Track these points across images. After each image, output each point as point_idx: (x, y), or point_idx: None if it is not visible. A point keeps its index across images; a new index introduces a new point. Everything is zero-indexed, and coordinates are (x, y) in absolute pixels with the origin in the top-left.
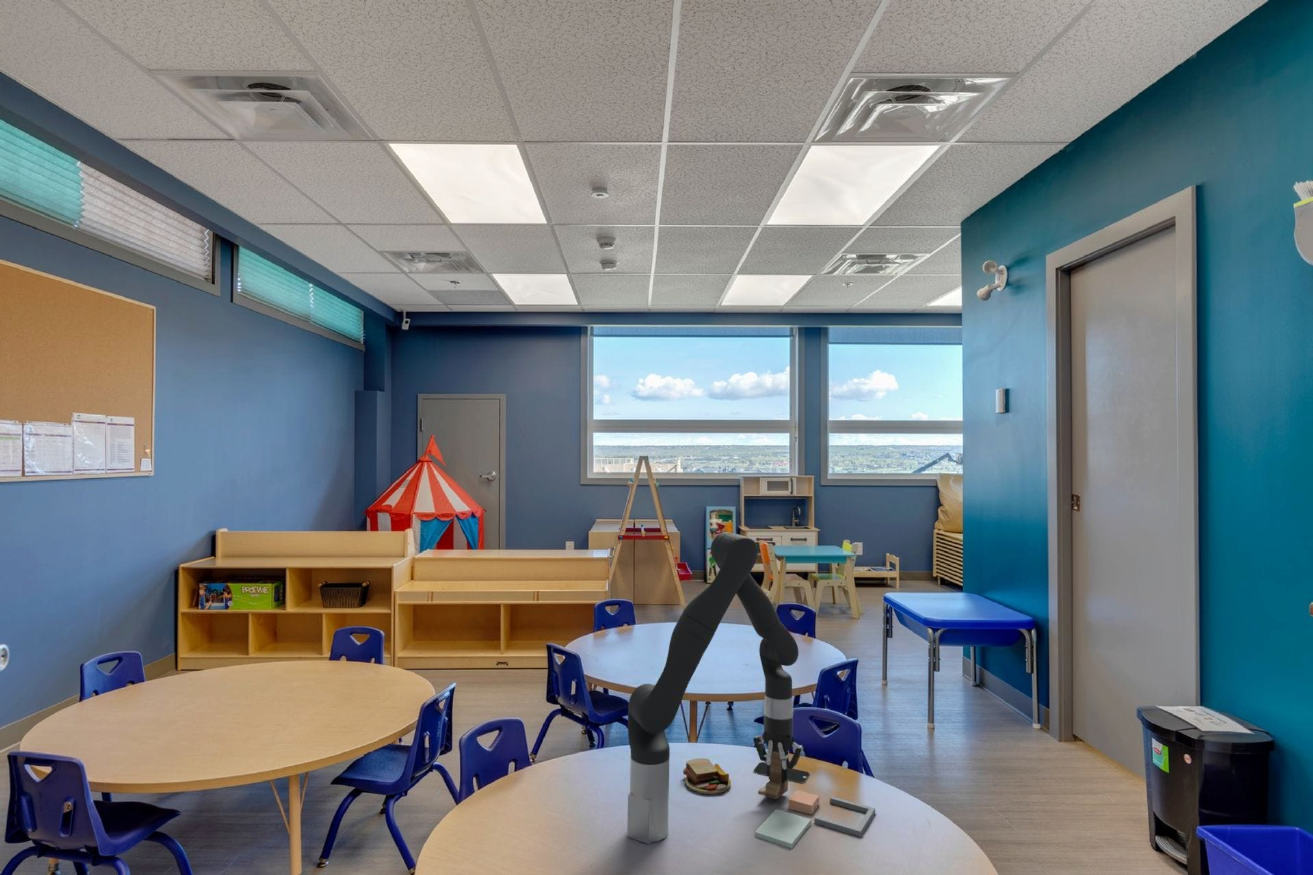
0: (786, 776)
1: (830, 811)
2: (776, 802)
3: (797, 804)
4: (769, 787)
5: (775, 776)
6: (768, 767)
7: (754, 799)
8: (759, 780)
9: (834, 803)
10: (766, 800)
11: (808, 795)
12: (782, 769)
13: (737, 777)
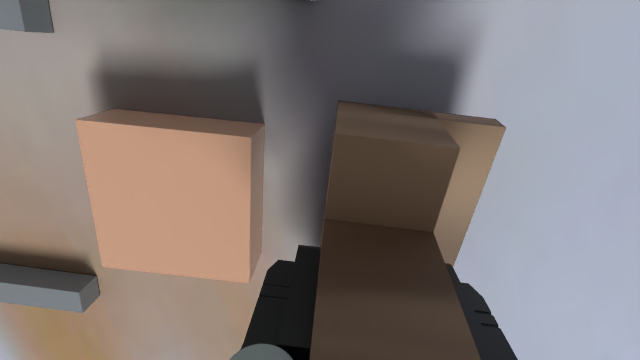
0: (267, 290)
1: (49, 191)
2: None
3: (191, 126)
4: (412, 133)
5: (381, 261)
6: (494, 354)
7: None
8: None
9: (71, 274)
10: None
11: (158, 246)
12: (300, 340)
13: (634, 339)
